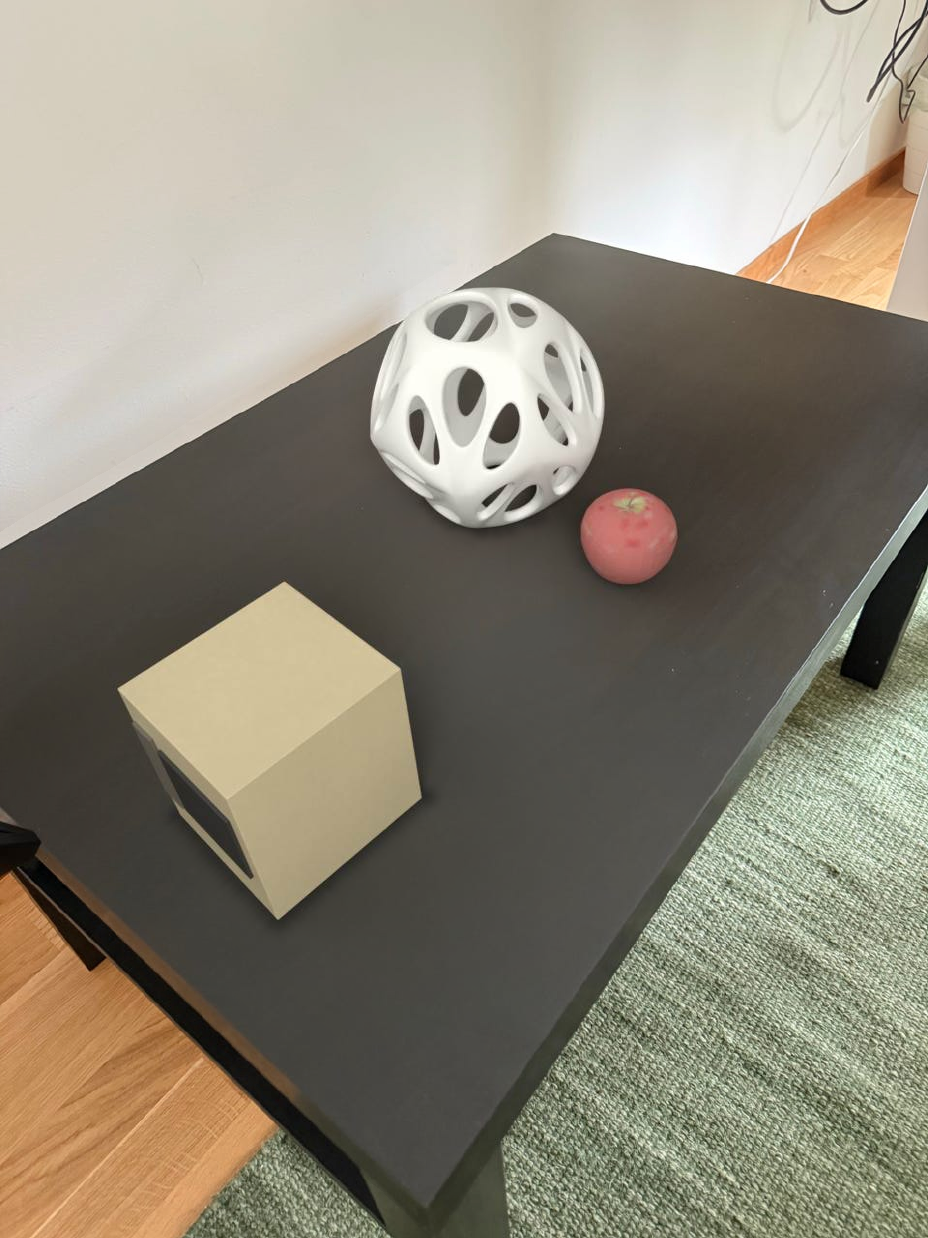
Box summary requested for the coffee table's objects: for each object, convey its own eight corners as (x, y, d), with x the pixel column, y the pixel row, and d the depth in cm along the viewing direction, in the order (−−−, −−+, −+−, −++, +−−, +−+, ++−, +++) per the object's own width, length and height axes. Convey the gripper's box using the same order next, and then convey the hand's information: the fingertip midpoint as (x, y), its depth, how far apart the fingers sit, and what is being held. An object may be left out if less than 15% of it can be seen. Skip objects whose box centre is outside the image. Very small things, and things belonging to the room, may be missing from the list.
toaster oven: (274, 923, 56) (222, 802, 47) (176, 817, 62) (112, 691, 53) (422, 797, 62) (401, 668, 53) (319, 711, 68) (284, 580, 59)
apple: (628, 531, 80) (634, 454, 74) (689, 577, 75) (701, 498, 70) (560, 567, 77) (562, 490, 71) (619, 616, 73) (626, 538, 67)
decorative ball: (384, 577, 78) (354, 394, 65) (377, 442, 92) (351, 271, 79) (621, 551, 78) (635, 365, 66) (578, 421, 92) (583, 247, 80)
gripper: (-191, 835, 28) (207, 819, 41) (-343, 560, 38) (17, 618, 51) (-323, 1130, 29) (101, 1024, 42) (-435, 791, 39) (-63, 790, 52)
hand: (35, 844), depth 47 cm, fingers closed
